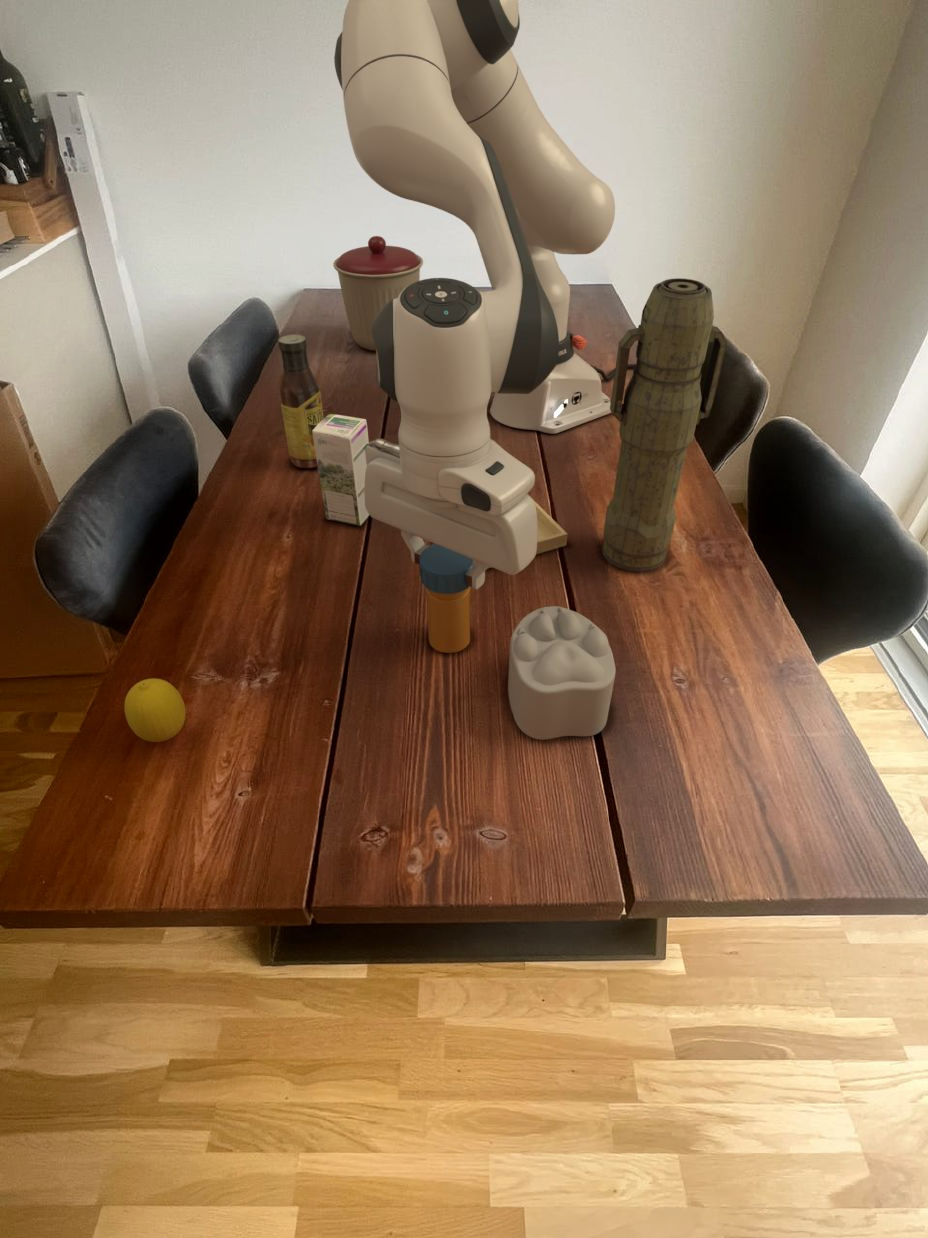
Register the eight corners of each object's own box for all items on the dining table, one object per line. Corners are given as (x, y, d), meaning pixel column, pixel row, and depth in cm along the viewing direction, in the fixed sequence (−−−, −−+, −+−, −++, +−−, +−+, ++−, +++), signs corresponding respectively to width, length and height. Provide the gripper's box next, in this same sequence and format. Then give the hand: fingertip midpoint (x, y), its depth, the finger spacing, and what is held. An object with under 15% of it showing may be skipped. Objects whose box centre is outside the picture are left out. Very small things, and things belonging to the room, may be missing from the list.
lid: (409, 581, 81) (408, 561, 79) (441, 554, 85) (441, 535, 83) (454, 601, 78) (453, 581, 77) (485, 572, 82) (486, 553, 80)
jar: (459, 620, 90) (458, 552, 83) (477, 645, 87) (477, 576, 80) (422, 632, 89) (418, 563, 82) (438, 658, 85) (436, 588, 78)
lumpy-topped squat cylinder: (517, 741, 76) (520, 683, 70) (500, 654, 86) (503, 597, 80) (615, 734, 77) (627, 676, 71) (588, 648, 86) (596, 591, 81)
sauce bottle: (321, 472, 117) (303, 349, 104) (285, 468, 118) (261, 346, 105) (335, 452, 122) (318, 332, 109) (299, 449, 123) (279, 330, 110)
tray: (521, 499, 111) (521, 488, 110) (566, 545, 102) (567, 533, 101) (429, 523, 106) (428, 512, 105) (468, 574, 97) (468, 562, 96)
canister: (442, 337, 161) (439, 232, 147) (393, 365, 149) (385, 254, 135) (377, 322, 168) (368, 220, 154) (325, 348, 157) (311, 240, 143)
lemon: (145, 718, 79) (122, 665, 73) (198, 714, 79) (178, 662, 74) (132, 759, 74) (107, 706, 69) (188, 755, 75) (166, 702, 70)
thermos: (582, 538, 103) (615, 275, 80) (662, 530, 105) (717, 269, 82) (601, 576, 97) (643, 302, 73) (686, 567, 98) (754, 295, 75)
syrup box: (377, 506, 110) (368, 416, 100) (360, 528, 105) (349, 436, 96) (342, 500, 111) (330, 410, 101) (324, 521, 107) (310, 429, 97)
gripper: (344, 445, 75) (358, 555, 84) (514, 507, 66) (509, 622, 75) (384, 422, 78) (392, 529, 88) (550, 477, 70) (540, 590, 79)
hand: (447, 573), depth 81 cm, fingers closed on lid, 6 cm apart
